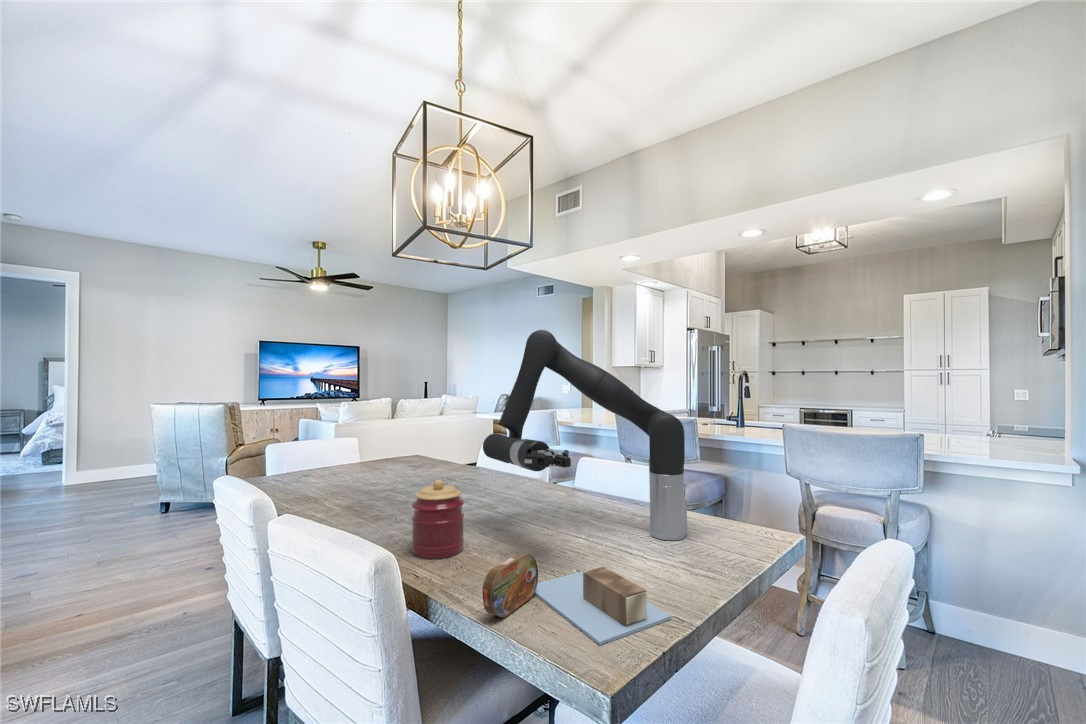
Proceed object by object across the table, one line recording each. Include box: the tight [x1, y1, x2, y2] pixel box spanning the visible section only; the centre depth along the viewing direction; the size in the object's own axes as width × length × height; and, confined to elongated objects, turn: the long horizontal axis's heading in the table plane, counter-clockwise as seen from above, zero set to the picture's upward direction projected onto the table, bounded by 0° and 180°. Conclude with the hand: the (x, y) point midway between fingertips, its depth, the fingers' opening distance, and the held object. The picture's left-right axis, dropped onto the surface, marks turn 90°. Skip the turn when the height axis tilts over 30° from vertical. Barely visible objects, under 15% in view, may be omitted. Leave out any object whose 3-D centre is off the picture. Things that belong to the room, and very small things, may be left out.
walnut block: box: [582, 566, 647, 627], centre depth 86 cm, size 5×5×12 cm
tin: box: [482, 553, 539, 618], centre depth 88 cm, size 15×3×8 cm, turn 148°
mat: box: [533, 569, 672, 646], centre depth 89 cm, size 16×24×1 cm, turn 31°
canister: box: [410, 479, 465, 560], centre depth 118 cm, size 13×13×18 cm
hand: (567, 462), depth 105 cm, fingers closed
